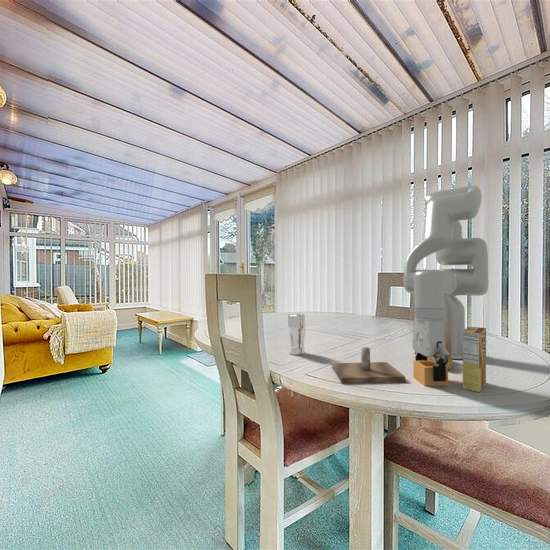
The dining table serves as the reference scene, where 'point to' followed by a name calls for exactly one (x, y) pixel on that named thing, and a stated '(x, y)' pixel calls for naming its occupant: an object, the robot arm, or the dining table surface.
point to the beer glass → (296, 333)
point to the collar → (427, 373)
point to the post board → (367, 371)
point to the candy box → (474, 358)
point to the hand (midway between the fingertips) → (429, 374)
